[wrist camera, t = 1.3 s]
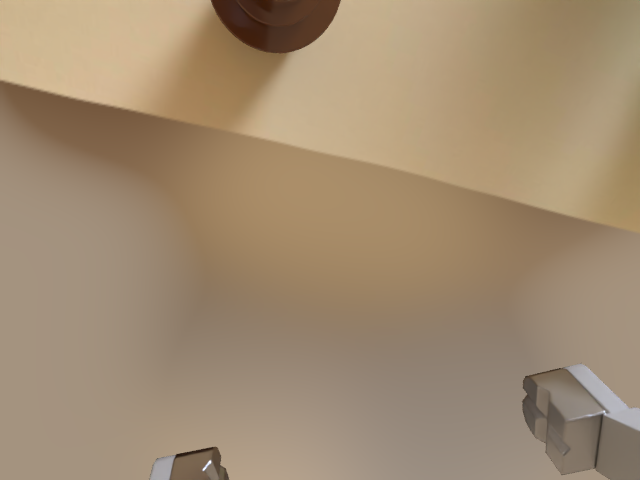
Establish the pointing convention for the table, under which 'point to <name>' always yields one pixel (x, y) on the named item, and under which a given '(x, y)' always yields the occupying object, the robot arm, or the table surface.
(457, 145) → the table surface
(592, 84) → the table surface
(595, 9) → the table surface
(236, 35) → the amber bottle
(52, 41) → the table surface
